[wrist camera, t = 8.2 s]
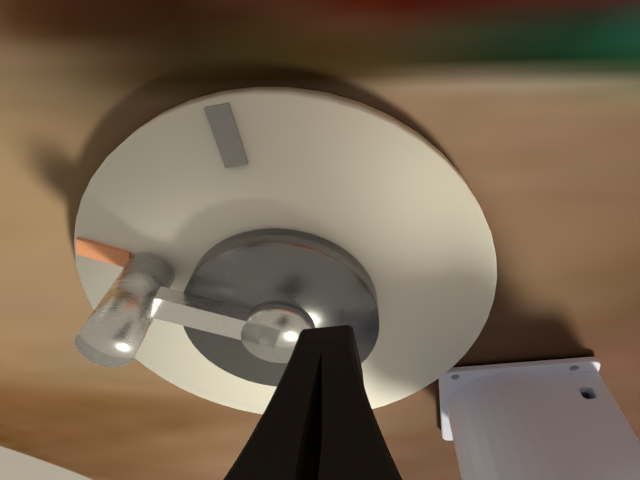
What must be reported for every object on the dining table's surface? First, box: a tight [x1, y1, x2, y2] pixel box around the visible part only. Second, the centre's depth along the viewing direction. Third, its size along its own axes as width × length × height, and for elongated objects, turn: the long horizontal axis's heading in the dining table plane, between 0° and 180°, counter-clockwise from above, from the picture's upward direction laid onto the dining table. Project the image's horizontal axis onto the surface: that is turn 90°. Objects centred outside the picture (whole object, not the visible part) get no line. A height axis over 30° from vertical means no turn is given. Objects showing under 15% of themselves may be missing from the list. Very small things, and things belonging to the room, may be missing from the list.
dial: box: [75, 228, 379, 387], centre depth 20 cm, size 13×10×5 cm
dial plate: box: [74, 86, 497, 414], centre depth 23 cm, size 22×22×1 cm
